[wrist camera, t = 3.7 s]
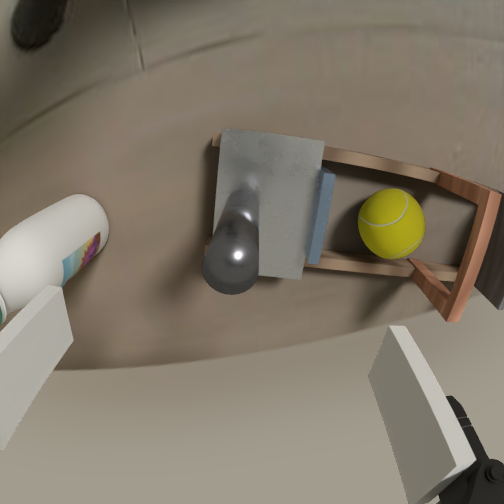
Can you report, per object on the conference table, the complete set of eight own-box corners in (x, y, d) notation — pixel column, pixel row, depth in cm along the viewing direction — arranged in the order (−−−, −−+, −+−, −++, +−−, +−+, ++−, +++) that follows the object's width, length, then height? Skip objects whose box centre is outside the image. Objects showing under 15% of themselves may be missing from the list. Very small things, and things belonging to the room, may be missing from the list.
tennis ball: (339, 205, 33) (357, 226, 26) (390, 170, 31) (419, 184, 25) (368, 254, 35) (389, 283, 28) (416, 221, 33) (445, 244, 27)
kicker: (215, 254, 35) (183, 359, 19) (226, 127, 29) (190, 133, 14) (305, 264, 35) (335, 372, 20) (326, 140, 30) (394, 162, 14)
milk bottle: (50, 206, 33) (-66, 278, 15) (95, 182, 32) (-33, 252, 14) (75, 260, 36) (-21, 357, 18) (121, 242, 35) (22, 350, 17)
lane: (207, 248, 35) (186, 302, 25) (216, 130, 30) (194, 135, 20) (466, 276, 36) (511, 321, 25) (493, 186, 31) (551, 213, 20)
